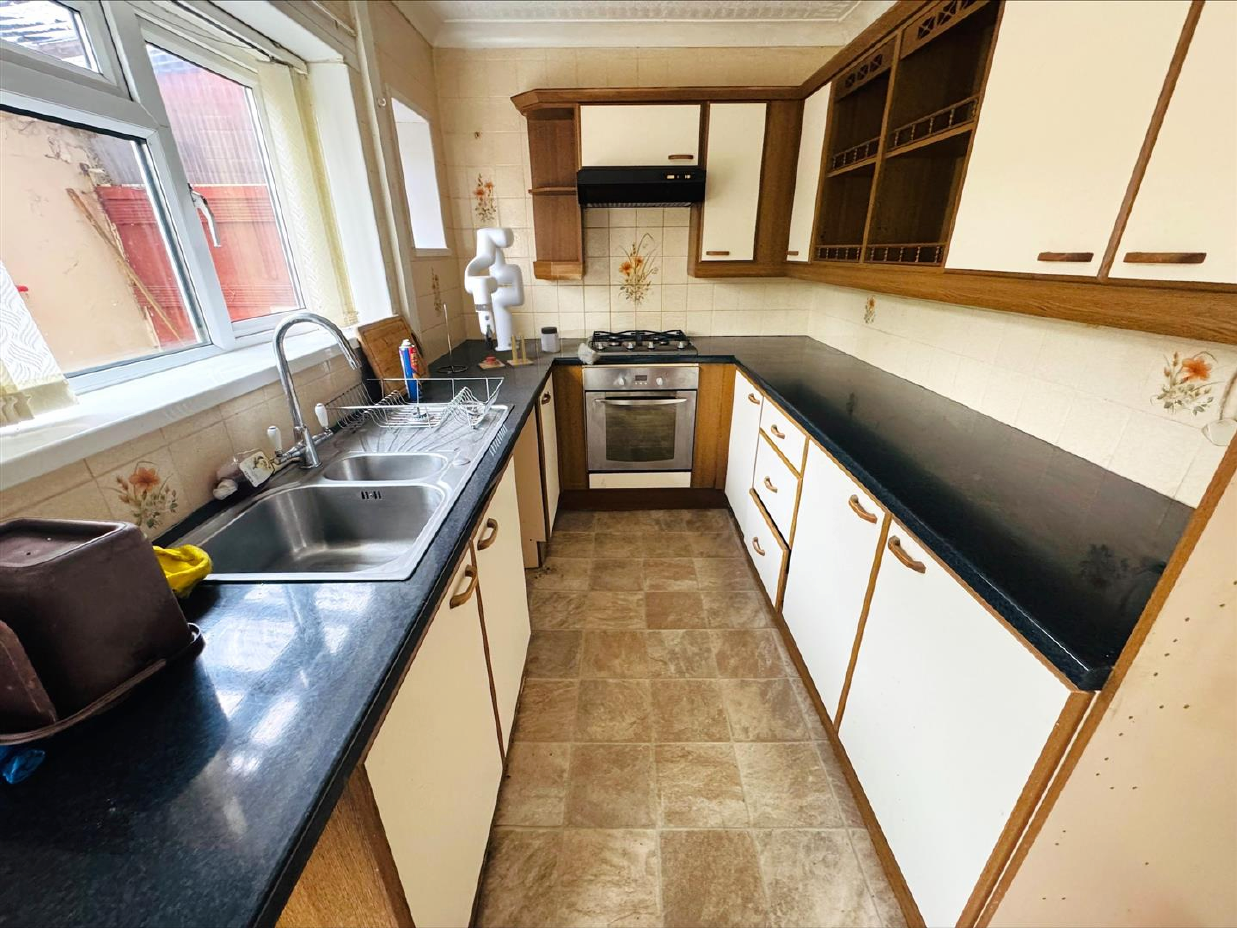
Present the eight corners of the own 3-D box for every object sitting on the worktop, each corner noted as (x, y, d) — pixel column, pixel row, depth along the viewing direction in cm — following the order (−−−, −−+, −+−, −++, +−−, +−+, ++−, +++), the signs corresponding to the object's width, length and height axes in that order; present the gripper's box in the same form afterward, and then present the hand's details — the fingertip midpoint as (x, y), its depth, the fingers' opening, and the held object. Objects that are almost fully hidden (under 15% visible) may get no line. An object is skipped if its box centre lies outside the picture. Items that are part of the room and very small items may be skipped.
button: (485, 361, 233) (485, 357, 232) (494, 360, 235) (494, 356, 234) (487, 363, 230) (487, 359, 229) (496, 361, 231) (496, 358, 231)
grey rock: (582, 363, 243) (565, 348, 230) (592, 351, 242) (575, 335, 230) (602, 378, 234) (585, 363, 222) (612, 365, 234) (596, 349, 221)
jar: (548, 349, 268) (545, 326, 264) (561, 350, 266) (560, 326, 261) (539, 353, 261) (537, 329, 256) (554, 353, 258) (552, 329, 253)
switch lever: (508, 347, 242) (507, 342, 241) (518, 346, 243) (517, 341, 243) (513, 340, 230) (511, 335, 230) (523, 339, 232) (522, 334, 232)
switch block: (478, 366, 236) (477, 359, 235) (499, 363, 240) (499, 357, 239) (483, 371, 226) (482, 364, 225) (505, 368, 230) (505, 361, 229)
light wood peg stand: (506, 363, 240) (502, 333, 235) (527, 360, 244) (523, 331, 239) (512, 367, 230) (509, 337, 225) (534, 365, 234) (531, 334, 229)
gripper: (496, 308, 218) (501, 351, 226) (488, 305, 230) (494, 345, 238) (478, 310, 215) (484, 353, 223) (472, 306, 228) (478, 347, 235)
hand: (489, 349), depth 230 cm, fingers closed
